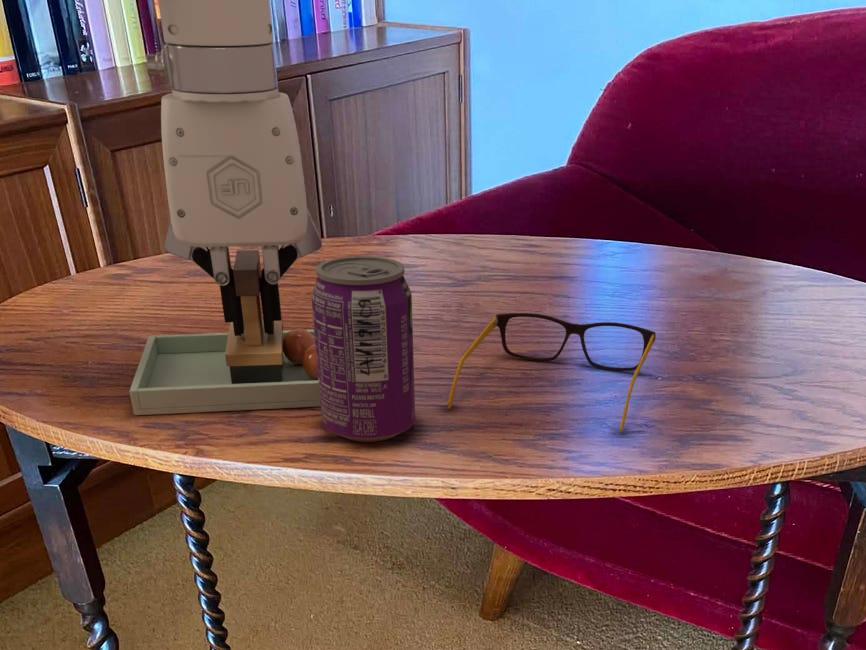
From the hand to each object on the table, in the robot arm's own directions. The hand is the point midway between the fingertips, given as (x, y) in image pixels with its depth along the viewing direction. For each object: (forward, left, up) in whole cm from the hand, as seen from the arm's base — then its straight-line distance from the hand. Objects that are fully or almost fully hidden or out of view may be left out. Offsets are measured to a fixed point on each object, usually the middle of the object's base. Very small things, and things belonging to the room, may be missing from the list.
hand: (254, 328), depth 79 cm
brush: (0, 0, -4) cm, 4 cm away
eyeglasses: (+25, -6, -5) cm, 26 cm away
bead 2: (+5, -2, -2) cm, 6 cm away
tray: (0, 0, -4) cm, 4 cm away
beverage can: (+9, -12, -5) cm, 15 cm away
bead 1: (+4, +2, -2) cm, 5 cm away
